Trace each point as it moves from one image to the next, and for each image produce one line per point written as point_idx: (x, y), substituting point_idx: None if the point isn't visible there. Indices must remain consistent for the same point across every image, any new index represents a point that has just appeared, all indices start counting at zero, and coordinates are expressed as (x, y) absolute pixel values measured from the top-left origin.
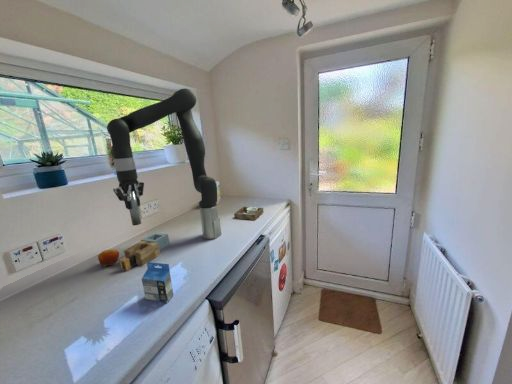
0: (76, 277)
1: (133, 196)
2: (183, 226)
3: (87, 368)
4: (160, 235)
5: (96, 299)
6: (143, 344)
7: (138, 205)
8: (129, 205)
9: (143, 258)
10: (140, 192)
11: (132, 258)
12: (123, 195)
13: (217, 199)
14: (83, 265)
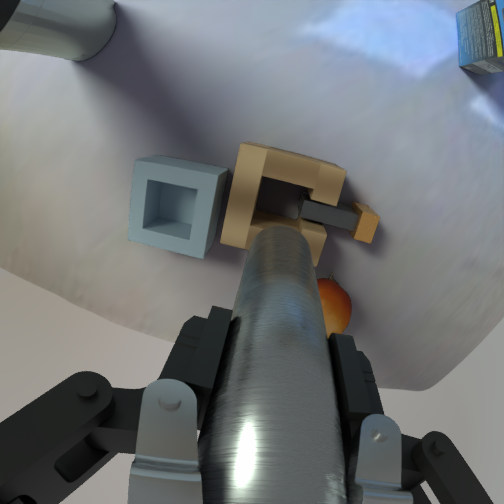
0: (382, 334)
1: (309, 449)
2: (32, 194)
3: None
4: (146, 194)
5: (478, 207)
6: None
7: (231, 315)
8: (357, 371)
9: (331, 164)
10: (83, 429)
11: (340, 208)
12: (458, 498)
13: None
14: None
